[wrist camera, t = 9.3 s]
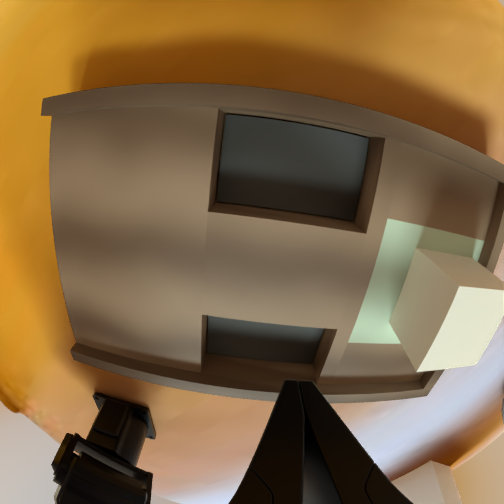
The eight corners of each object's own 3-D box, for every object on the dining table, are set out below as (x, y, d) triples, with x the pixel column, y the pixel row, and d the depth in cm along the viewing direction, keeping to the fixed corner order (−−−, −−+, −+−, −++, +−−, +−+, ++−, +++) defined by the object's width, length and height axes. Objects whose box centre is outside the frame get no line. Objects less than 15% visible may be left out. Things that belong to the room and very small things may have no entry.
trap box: (412, 368, 21) (426, 395, 17) (92, 333, 20) (73, 359, 17) (486, 165, 14) (519, 174, 10) (77, 101, 13) (42, 98, 10)
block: (445, 323, 16) (475, 364, 11) (388, 322, 16) (416, 371, 11) (472, 257, 14) (514, 291, 10) (415, 247, 14) (459, 286, 10)
